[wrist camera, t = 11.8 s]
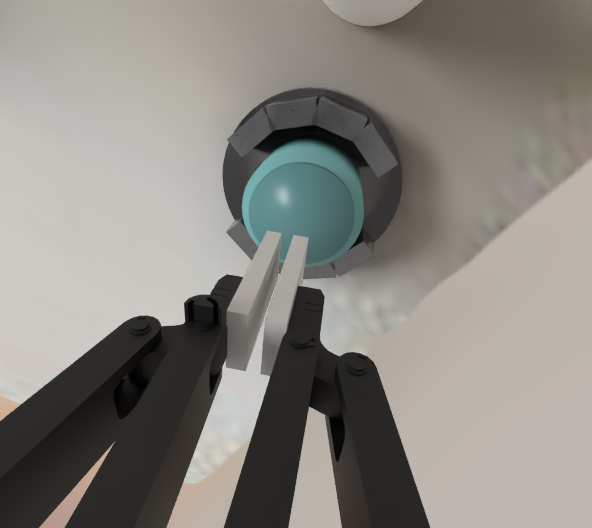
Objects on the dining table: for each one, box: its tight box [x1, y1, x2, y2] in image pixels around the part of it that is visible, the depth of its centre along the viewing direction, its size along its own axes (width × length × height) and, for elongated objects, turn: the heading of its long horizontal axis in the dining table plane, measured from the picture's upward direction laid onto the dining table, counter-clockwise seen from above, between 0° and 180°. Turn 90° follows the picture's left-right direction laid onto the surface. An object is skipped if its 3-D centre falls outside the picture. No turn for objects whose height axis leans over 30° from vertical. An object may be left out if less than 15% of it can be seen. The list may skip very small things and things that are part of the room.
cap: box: [242, 135, 364, 267], centre depth 25 cm, size 8×8×6 cm
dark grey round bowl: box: [223, 88, 402, 279], centre depth 27 cm, size 14×14×4 cm
